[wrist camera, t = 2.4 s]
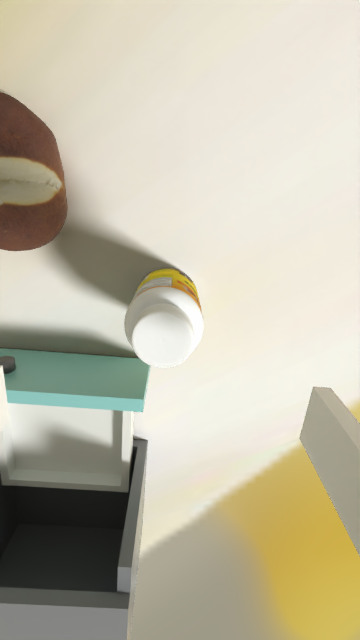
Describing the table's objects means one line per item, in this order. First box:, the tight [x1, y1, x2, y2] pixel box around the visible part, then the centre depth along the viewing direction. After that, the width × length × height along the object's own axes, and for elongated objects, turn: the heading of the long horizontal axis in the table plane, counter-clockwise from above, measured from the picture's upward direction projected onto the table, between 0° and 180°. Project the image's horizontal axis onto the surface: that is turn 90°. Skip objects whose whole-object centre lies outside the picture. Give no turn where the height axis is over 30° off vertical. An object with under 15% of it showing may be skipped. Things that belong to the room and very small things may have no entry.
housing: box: [0, 440, 148, 640], centre depth 31 cm, size 16×14×14 cm
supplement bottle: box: [125, 268, 203, 368], centre depth 24 cm, size 6×6×10 cm
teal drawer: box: [0, 348, 150, 493], centre depth 30 cm, size 16×15×7 cm
